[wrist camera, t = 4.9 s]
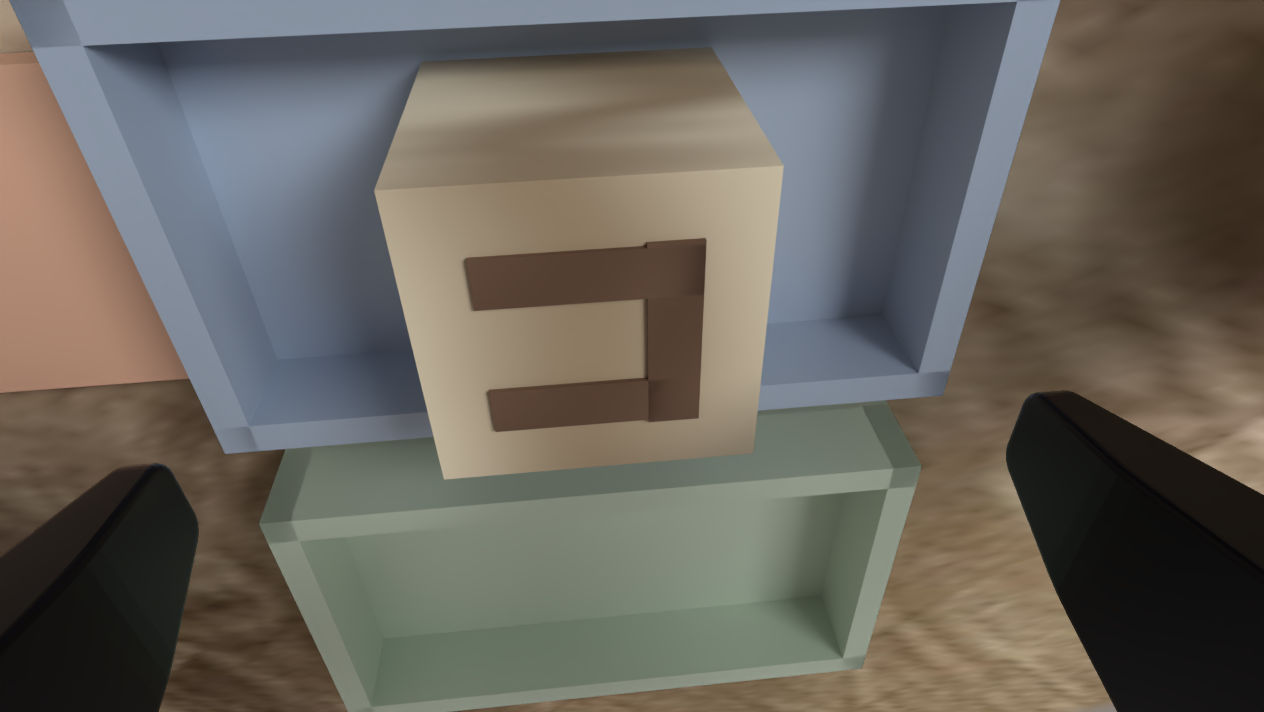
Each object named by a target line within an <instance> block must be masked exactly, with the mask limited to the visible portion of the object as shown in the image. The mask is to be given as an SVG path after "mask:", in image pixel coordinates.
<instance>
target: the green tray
mask: <svg viewBox="0 0 1264 712" xmlns="http://www.w3.org/2000/svg"><path fill="white" fill-rule="evenodd" d="M921 467H922V466H921V464H920V462H919V460H918V458H917V456H916V455H915V453H914V451H913V449H912V447H911V445H910V444H909V442H908V440H907V438H906V436H905V434H904V433H903V431H902V429H901V427H900V425H899V423H898V421H897V420H896V418H895V416H894V414H893V412H892V410H891V409H890V407H889V405H888V403H887V401H886V400H882V401H870V402H858V403H845V404H833V405H821V406H808V407H796V408H784V409H771V410H759V411H758V412H757V422H756V431H755V441H754V450H753V453H751V454H740V455H728V456H716V457H704V458H693V459H681V460H669V461H657V462H645V463H634V464H622V465H610V466H598V467H587V468H575V469H563V470H551V471H539V472H528V473H516V474H504V475H492V476H481V477H469V478H457V479H445V480H444V478H443V474H442V469H441V465H440V461H439V457H438V453H437V449H436V445H435V440H434V437H427V438H415V439H402V440H390V441H378V442H365V443H353V444H341V445H328V446H316V447H304V448H291V449H285V452H284V455H283V458H282V461H281V463H280V466H279V469H278V472H277V474H276V477H275V480H274V483H273V486H272V488H271V491H270V494H269V497H268V499H267V502H266V505H265V508H264V511H263V513H262V516H261V519H260V522H259V526H260V528H261V530H262V532H263V534H264V536H265V538H266V541H267V543H268V545H269V547H270V549H271V551H272V553H273V555H274V557H275V559H276V562H277V564H278V566H279V568H280V570H281V572H282V574H283V576H284V578H285V580H286V583H287V585H288V587H289V589H290V591H291V593H292V595H293V597H294V599H295V601H296V604H297V606H298V608H299V610H300V612H301V614H302V616H303V618H304V620H305V622H306V625H307V627H308V629H309V631H310V633H311V635H312V637H313V639H314V641H315V643H316V646H317V648H318V650H319V652H320V654H321V656H322V658H323V660H324V662H325V664H326V667H327V669H328V671H329V673H330V675H331V677H332V679H333V681H334V683H335V685H336V688H337V690H338V692H339V694H340V696H341V698H342V700H343V702H344V704H345V706H346V709H347V711H348V712H451V711H461V710H470V709H480V708H489V707H499V706H508V705H518V704H528V703H537V702H547V701H556V700H566V699H575V698H585V697H595V696H604V695H614V694H623V693H633V692H643V691H652V690H662V689H671V688H681V687H690V686H700V685H710V684H719V683H729V682H738V681H748V680H758V679H767V678H777V677H786V676H796V675H805V674H815V673H825V672H834V671H844V670H853V669H862V666H863V663H864V659H865V656H866V653H867V649H868V646H869V642H870V639H871V636H872V632H873V629H874V626H875V622H876V619H877V616H878V612H879V609H880V605H881V602H882V599H883V595H884V592H885V589H886V585H887V582H888V578H889V575H890V572H891V568H892V565H893V562H894V558H895V555H896V552H897V548H898V545H899V541H900V538H901V535H902V531H903V528H904V525H905V521H906V518H907V514H908V511H909V508H910V504H911V501H912V498H913V494H914V491H915V488H916V484H917V481H918V477H919V474H920V471H921Z"/></svg>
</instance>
